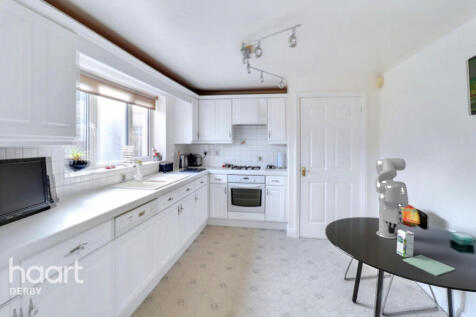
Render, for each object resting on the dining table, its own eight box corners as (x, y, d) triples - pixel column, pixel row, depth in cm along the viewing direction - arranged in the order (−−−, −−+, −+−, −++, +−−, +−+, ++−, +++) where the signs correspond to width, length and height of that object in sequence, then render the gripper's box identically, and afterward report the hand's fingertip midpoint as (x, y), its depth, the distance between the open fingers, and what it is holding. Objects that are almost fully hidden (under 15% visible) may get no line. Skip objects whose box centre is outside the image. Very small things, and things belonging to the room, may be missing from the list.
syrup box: (396, 252, 133) (397, 229, 132) (405, 252, 133) (406, 229, 133) (404, 257, 127) (405, 233, 126) (413, 257, 128) (414, 232, 127)
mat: (420, 255, 129) (420, 254, 129) (455, 269, 114) (455, 268, 114) (402, 260, 124) (402, 259, 124) (436, 276, 109) (436, 274, 109)
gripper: (409, 207, 131) (408, 236, 132) (385, 201, 145) (384, 228, 146) (400, 208, 128) (399, 238, 129) (376, 202, 142) (376, 229, 143)
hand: (391, 233), depth 137 cm, fingers closed
